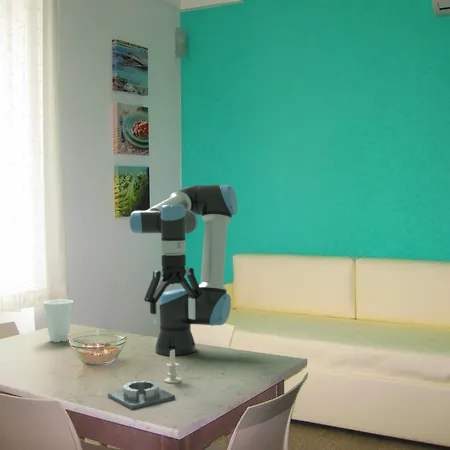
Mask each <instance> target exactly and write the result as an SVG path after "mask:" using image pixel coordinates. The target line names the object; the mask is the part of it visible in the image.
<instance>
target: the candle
mask: <svg viewBox="0 0 450 450" xmlns="http://www.w3.org/2000/svg"><path fill="white" fill-rule="evenodd" d="M179 365H180V363H178V362H176V355H175V350H173V349H172V350H171V351H170V355H169V363H166V367H167V366H168V368H169V369H168V372H167V376H168V377H166V378H165V379H164V382H165V383H166V384H173V385H174V384H179V383H181V382H182V378H181V377H177V376H178V375H179V374H178V372H177V366H179Z"/></svg>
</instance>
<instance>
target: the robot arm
mask: <svg viewBox="0 0 450 450" xmlns="http://www.w3.org/2000/svg"><path fill="white" fill-rule="evenodd" d="M236 195H237V194H236V192H235V189H234V188H233V186H232V185H230V184H222V183H221V184H205V185H204V184H202V185H201V184H199V185H197V184H196V185H190V186H187V187H184V188H181V189H179V190H176V191H174V192H172V193H171V194H170V195H169V197H168V198H167V199H166V200H165V199H164V200H163V201H162V202H160V203H158V204H155V205H154V206H152V207H150V208H148V209H147V210H134V211H132V212H131V214H130V216H129V228H130V230H131V232H133V233H135V234H141V235H142V234H143V235H144V234H161V238H160V239H161V251H160V253H162V255H161V268H162V269H161V271H160V270H153V271H152V278H151V282H150V284H149V285H148V288H147V291H146V294H145V296H144V300H143V301H144V302H146V303H149V313H150V314H151V316H152V317H151V318H152V324H153V325H156V326H159V333H158V336H157V339H156V343H155V345H154V347H155V353H156V354H158V355H159V354H160V355H162V356H170V351H171V350H172V349H173V350H175V356H185V355H189V354H192V353H195V351H196V342H195V339H194V337H193V336H194V335H193V334H192V331H191V325H197V326H198V325H200V326H201V325H203V326H222V325H225V323H226V322H227V320H228V318H229V315H230V311H231V307H232V297H231V295H230V294H229V293H227V288H226V287H225V286H224V277H225V276H224V275H225V263H226V262H225V261H226V249H227V248H226V247H227V235H228V233H227V232H228V224H229V223H230V222H231V221H232V219H233V216H235V215H236V214H237V212H238V200H237V196H236ZM198 215H199V216H201V219H202V221H203V222H204V233H203V234H204V235H203V246H202V256H201V270H200V271H201V272H200V283H199V282H198V281H197V278H196V276H195V269H194V268H193V267H192V268H191V267H186V264H187V261H186V259H187V258H186V256H187V255H185V253H186V234H187V235H188V234H190V233H193V232H194V231H196V229H197V228H198V226H199V218H198ZM185 276H186V277H187V279H188V280H187V279H186V277H185ZM161 278H162V279H161ZM189 283H190V284H189ZM175 284H180V285H181V286H182V288H177V289H172V290H166V289H167V288H168V287H169V286H170V285H175ZM158 302H159V303H158Z"/></svg>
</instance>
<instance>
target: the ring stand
mask: <svg viewBox="0 0 450 450" xmlns="http://www.w3.org/2000/svg"><path fill="white" fill-rule="evenodd" d="M159 385H160V384H159V383H158V382H155V381H153V380H134V381H130V382H127V383H125V384H123V389H121V390H117V391H112V392H109V393H107V397H108V398H110V399H111V400H113V401H114V402H116V403H119V404H120V405H122V406H124V407H126V408H128V409H130V410H136V409H139V408H140V409H141V408H144V407H148V406H152V405H157V404H160V403H163V402H168V401H172V400H175V399H176V395H175V394H173V393H171V392H168V391H166V390H164V389H161V388H160V387H159Z"/></svg>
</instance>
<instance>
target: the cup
mask: <svg viewBox="0 0 450 450" xmlns="http://www.w3.org/2000/svg"><path fill="white" fill-rule="evenodd" d="M73 303H74V300H72V299H50V300H45V301H43V308H44V309H43V310H44V313H45V320H46V327H47V332H48V336H49V341H50V342H51V341H53V342H52V343H61V342H60V341H63V342H67V341H68V339H69V334H70V327H71V320H72V312H73ZM66 340H67V341H66Z"/></svg>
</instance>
